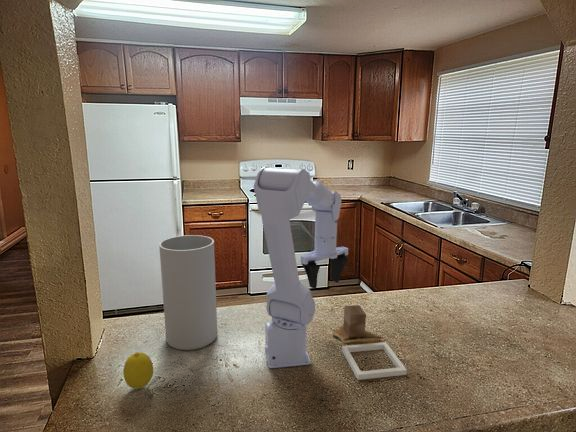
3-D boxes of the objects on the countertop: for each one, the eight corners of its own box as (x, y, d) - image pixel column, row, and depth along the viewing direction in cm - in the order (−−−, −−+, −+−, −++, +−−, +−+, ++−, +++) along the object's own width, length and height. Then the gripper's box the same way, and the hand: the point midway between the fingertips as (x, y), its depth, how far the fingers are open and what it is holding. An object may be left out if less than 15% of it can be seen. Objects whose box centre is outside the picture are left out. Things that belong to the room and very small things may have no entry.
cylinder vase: (227, 331, 99) (224, 238, 94) (196, 356, 88) (191, 253, 82) (188, 321, 104) (183, 232, 99) (155, 344, 93) (147, 246, 88)
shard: (382, 342, 96) (382, 336, 95) (367, 356, 90) (367, 349, 90) (345, 328, 102) (345, 322, 102) (329, 339, 97) (329, 333, 96)
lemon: (145, 376, 81) (142, 342, 79) (159, 387, 78) (157, 351, 76) (120, 389, 77) (116, 353, 75) (134, 401, 74) (130, 364, 72)
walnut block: (348, 337, 94) (350, 315, 93) (343, 327, 99) (344, 305, 98) (364, 336, 95) (366, 314, 94) (358, 326, 100) (359, 305, 99)
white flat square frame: (357, 379, 80) (357, 374, 80) (341, 350, 91) (342, 346, 91) (406, 374, 82) (406, 369, 82) (385, 346, 93) (385, 342, 92)
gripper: (312, 243, 93) (311, 295, 96) (356, 235, 101) (354, 283, 104) (296, 237, 99) (295, 286, 102) (339, 229, 107) (337, 275, 110)
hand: (324, 284), depth 103 cm, fingers open, 7 cm apart
